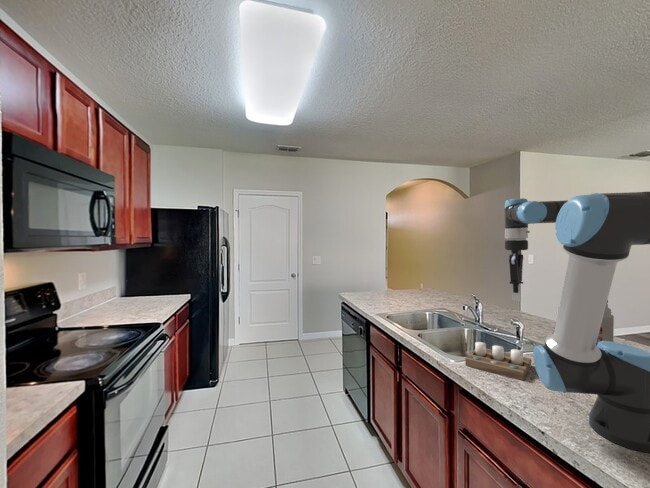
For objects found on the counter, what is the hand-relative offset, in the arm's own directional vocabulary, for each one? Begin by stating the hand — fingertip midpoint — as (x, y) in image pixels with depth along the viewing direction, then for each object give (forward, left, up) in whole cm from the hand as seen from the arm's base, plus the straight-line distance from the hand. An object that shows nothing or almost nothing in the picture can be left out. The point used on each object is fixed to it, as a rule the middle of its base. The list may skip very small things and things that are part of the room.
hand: (516, 300), depth 118 cm
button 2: (0, +6, -25) cm, 26 cm away
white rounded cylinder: (0, +13, -25) cm, 28 cm away
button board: (0, +6, -27) cm, 28 cm away
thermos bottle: (+16, -24, -28) cm, 40 cm away
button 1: (0, 0, -25) cm, 25 cm away
